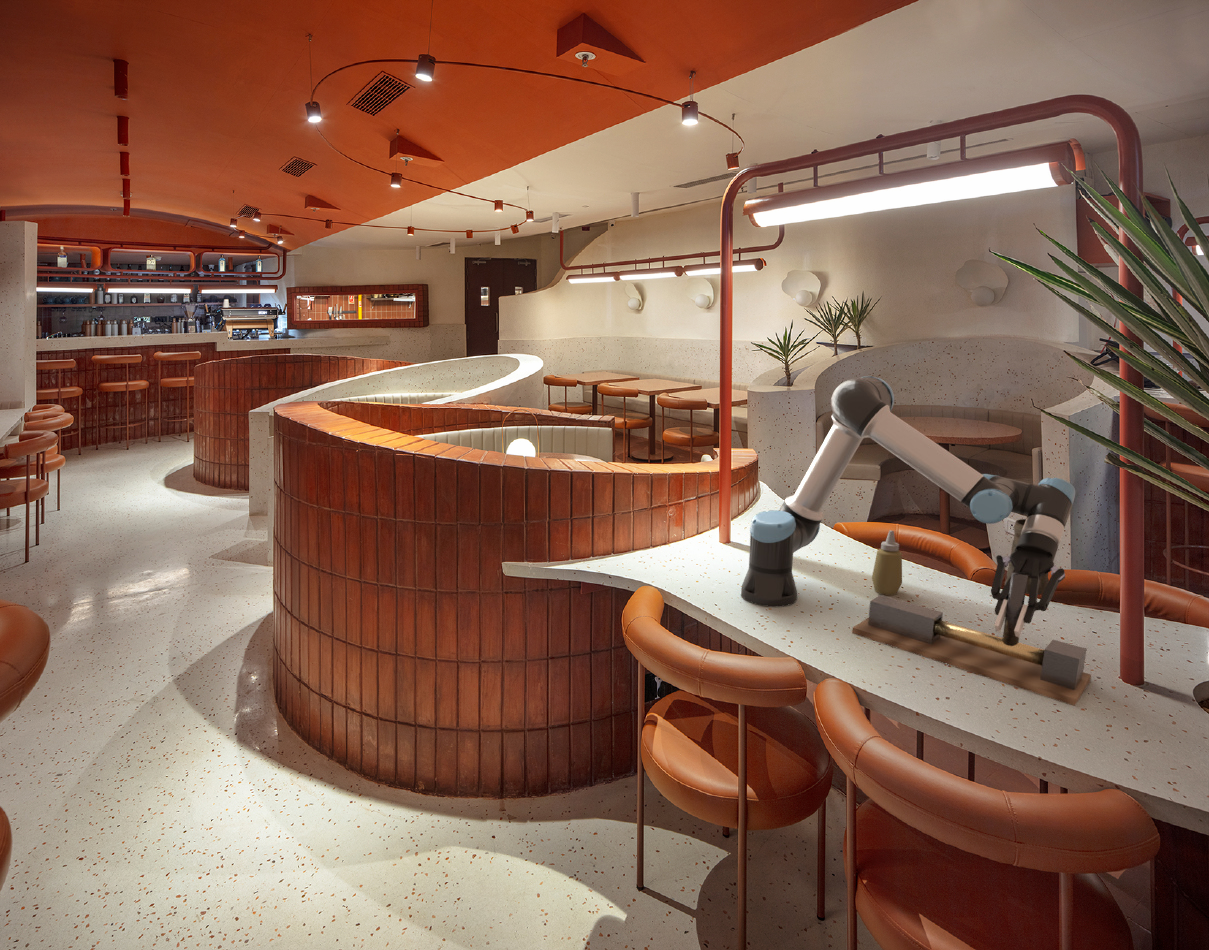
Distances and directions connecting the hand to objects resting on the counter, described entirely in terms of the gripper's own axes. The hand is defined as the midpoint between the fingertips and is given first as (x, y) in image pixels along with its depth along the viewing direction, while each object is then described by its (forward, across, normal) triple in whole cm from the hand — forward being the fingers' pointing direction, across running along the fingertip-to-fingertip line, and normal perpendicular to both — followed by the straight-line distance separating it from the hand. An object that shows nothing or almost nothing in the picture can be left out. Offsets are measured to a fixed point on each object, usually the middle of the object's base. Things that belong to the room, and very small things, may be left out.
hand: (1007, 631), depth 143 cm
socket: (+3, -10, -9) cm, 14 cm away
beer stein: (-35, +9, -50) cm, 62 cm away
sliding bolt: (+2, +5, -8) cm, 9 cm away
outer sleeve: (+4, +23, -9) cm, 24 cm away
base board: (+5, +9, -10) cm, 14 cm away
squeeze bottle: (-14, +38, -28) cm, 49 cm away
